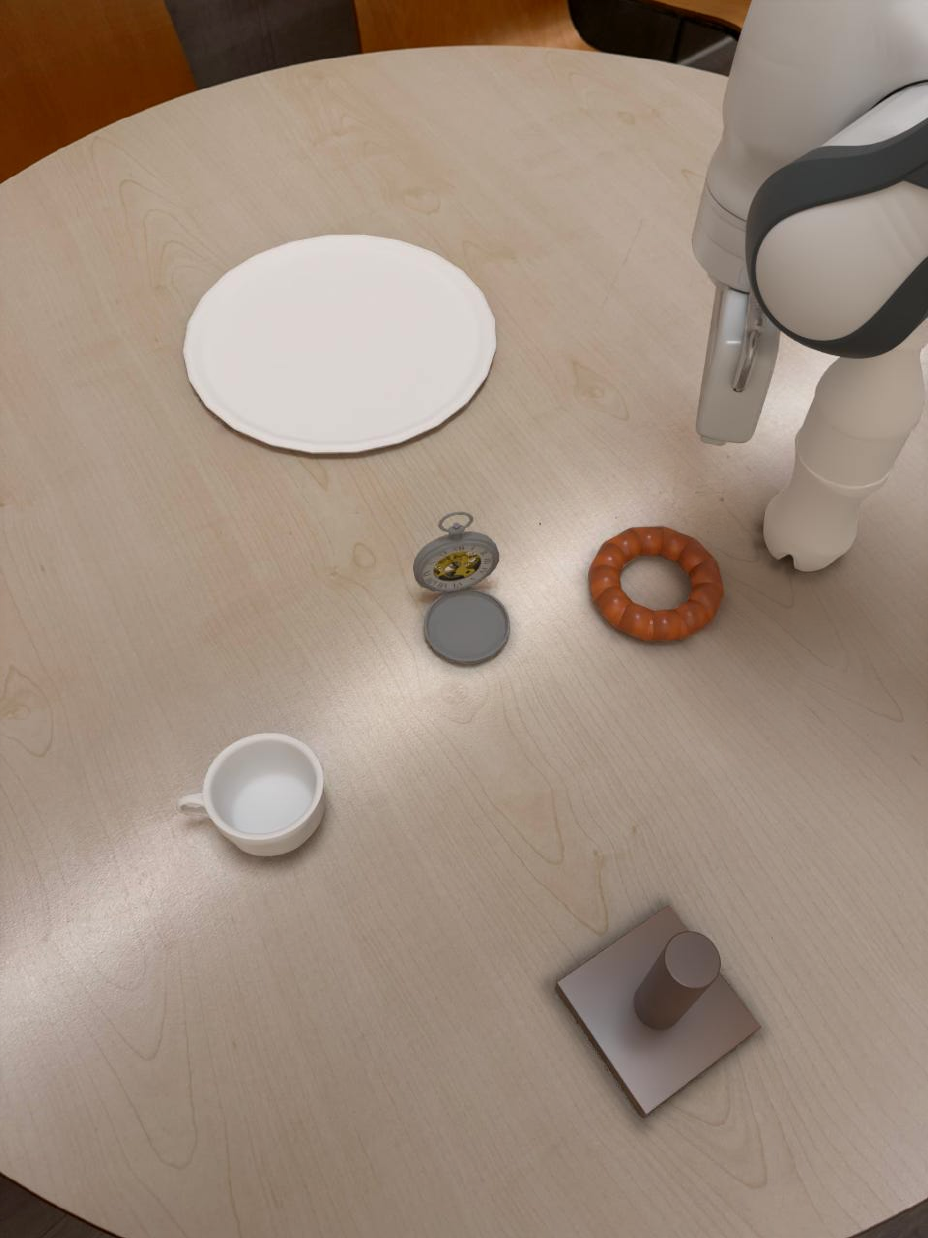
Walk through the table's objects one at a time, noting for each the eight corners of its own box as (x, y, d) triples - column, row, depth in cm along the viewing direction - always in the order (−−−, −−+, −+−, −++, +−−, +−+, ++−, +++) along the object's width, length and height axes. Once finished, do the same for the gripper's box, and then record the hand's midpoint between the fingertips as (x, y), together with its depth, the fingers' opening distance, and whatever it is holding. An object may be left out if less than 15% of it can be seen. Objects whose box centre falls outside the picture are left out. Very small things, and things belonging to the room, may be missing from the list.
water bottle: (740, 553, 84) (836, 313, 63) (778, 497, 87) (882, 250, 66) (822, 595, 82) (949, 361, 61) (858, 536, 85) (991, 294, 64)
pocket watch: (469, 683, 77) (471, 611, 69) (390, 619, 80) (382, 542, 72) (540, 616, 80) (549, 539, 72) (461, 557, 83) (461, 476, 75)
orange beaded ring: (746, 606, 81) (753, 590, 79) (642, 669, 78) (647, 653, 76) (662, 519, 86) (667, 501, 84) (562, 574, 83) (564, 557, 81)
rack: (755, 1031, 64) (814, 985, 54) (642, 1118, 61) (681, 1087, 51) (664, 911, 68) (702, 846, 58) (554, 987, 65) (573, 934, 55)
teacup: (329, 759, 74) (320, 725, 69) (334, 862, 70) (326, 834, 65) (188, 773, 73) (171, 741, 69) (185, 878, 69) (166, 851, 64)
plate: (239, 502, 86) (237, 493, 85) (149, 288, 100) (146, 278, 99) (549, 400, 93) (550, 390, 92) (424, 213, 107) (423, 202, 106)
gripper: (812, 351, 57) (751, 507, 69) (827, 138, 68) (773, 304, 79) (698, 333, 58) (657, 490, 69) (731, 125, 68) (691, 291, 80)
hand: (719, 389), depth 74 cm, fingers open, 8 cm apart
